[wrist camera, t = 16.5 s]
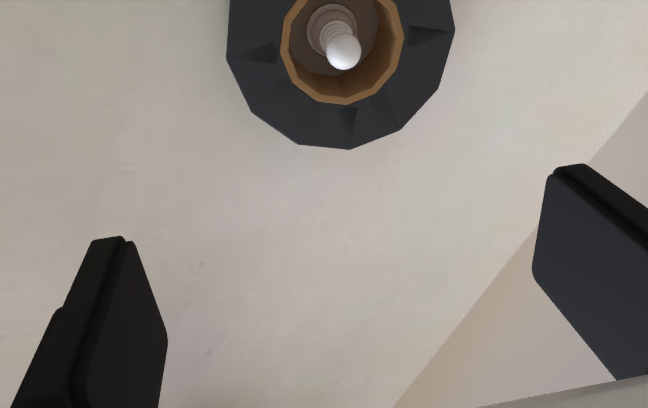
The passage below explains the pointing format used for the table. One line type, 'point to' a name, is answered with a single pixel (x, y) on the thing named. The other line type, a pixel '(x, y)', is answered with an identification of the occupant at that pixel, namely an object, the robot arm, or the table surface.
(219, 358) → the table surface
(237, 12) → the tape roll
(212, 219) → the table surface
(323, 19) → the chess pawn
